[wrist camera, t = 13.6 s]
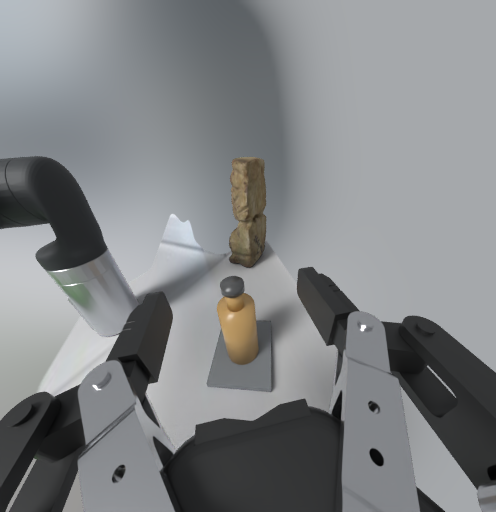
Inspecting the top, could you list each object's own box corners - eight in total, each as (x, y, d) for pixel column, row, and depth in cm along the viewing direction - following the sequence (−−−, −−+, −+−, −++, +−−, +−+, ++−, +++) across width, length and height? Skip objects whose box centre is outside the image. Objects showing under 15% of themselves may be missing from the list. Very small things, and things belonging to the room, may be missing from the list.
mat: (207, 386, 28) (206, 383, 28) (224, 322, 38) (223, 319, 38) (271, 391, 27) (271, 388, 26) (270, 324, 37) (270, 321, 36)
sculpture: (246, 247, 66) (237, 156, 51) (269, 252, 62) (267, 154, 47) (228, 265, 57) (210, 161, 42) (253, 271, 53) (244, 158, 38)
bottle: (224, 363, 30) (205, 297, 22) (231, 334, 35) (217, 271, 27) (257, 366, 29) (250, 298, 21) (259, 335, 34) (254, 271, 26)
